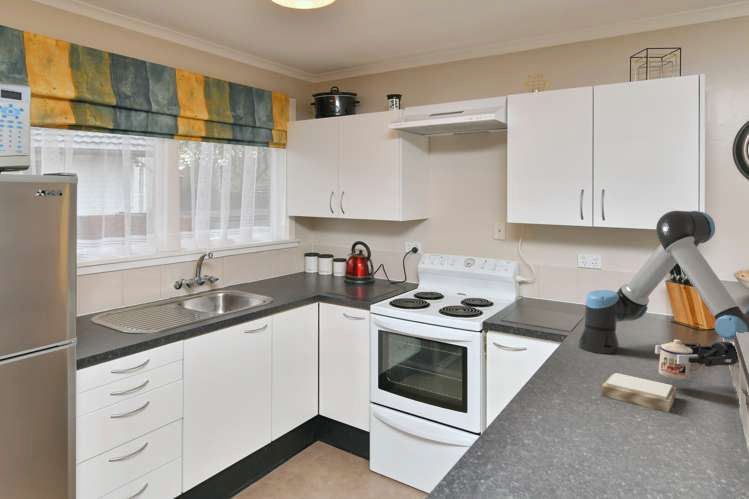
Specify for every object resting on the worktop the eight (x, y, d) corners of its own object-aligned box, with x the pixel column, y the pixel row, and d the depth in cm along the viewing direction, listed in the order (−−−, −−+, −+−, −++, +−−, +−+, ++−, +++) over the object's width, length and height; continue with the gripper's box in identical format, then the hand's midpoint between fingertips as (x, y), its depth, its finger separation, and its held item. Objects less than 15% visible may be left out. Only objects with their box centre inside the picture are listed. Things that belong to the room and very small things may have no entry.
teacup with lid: (655, 375, 158) (658, 340, 157) (660, 368, 165) (663, 334, 164) (699, 385, 151) (704, 348, 150) (702, 377, 158) (706, 341, 157)
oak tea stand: (601, 395, 152) (602, 383, 152) (612, 383, 163) (613, 371, 163) (668, 412, 141) (669, 398, 141) (675, 397, 152) (676, 385, 152)
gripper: (758, 376, 151) (691, 378, 148) (702, 353, 172) (642, 354, 169) (761, 353, 150) (694, 353, 147) (704, 332, 171) (644, 333, 168)
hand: (666, 354), depth 158 cm, fingers closed on teacup with lid, 9 cm apart
